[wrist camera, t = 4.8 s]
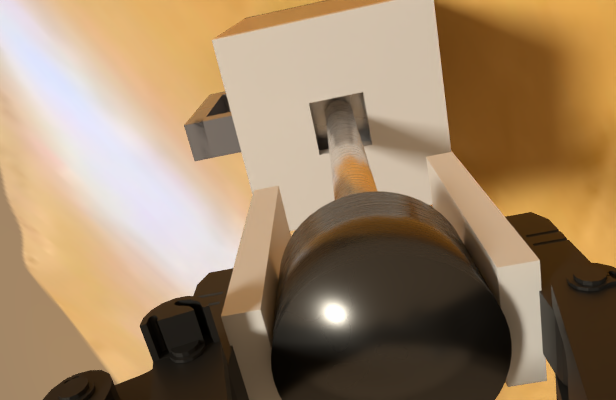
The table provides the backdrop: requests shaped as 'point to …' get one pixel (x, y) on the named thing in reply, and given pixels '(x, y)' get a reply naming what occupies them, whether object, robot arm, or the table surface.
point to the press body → (327, 96)
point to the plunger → (381, 291)
